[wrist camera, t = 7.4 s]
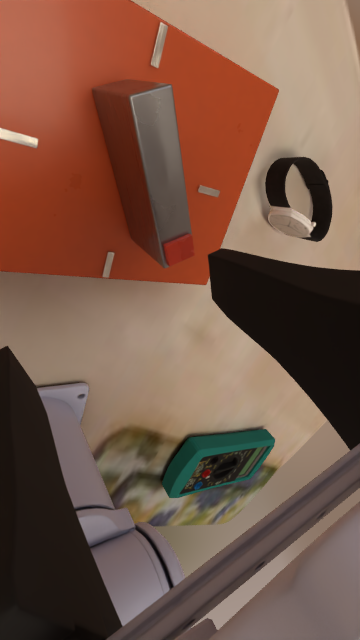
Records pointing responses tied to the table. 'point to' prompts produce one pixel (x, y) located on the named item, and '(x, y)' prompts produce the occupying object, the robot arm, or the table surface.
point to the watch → (291, 219)
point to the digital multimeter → (216, 461)
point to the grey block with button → (147, 165)
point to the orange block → (89, 143)
